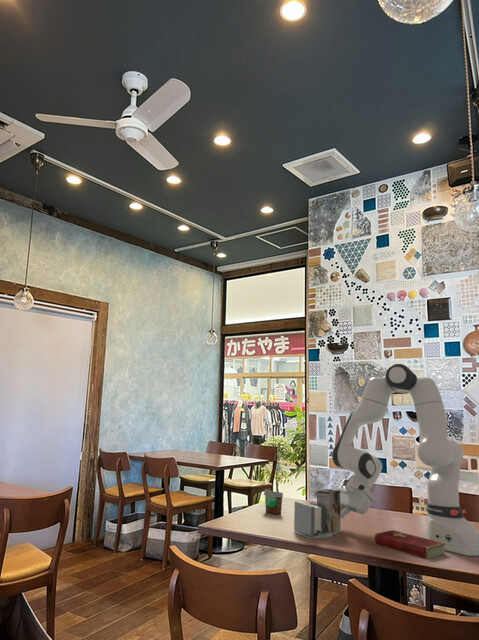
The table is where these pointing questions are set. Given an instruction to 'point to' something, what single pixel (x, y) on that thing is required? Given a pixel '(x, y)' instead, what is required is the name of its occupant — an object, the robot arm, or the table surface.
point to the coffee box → (330, 509)
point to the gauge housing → (306, 521)
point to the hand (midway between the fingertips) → (339, 516)
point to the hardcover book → (409, 544)
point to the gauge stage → (319, 517)
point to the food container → (273, 502)
